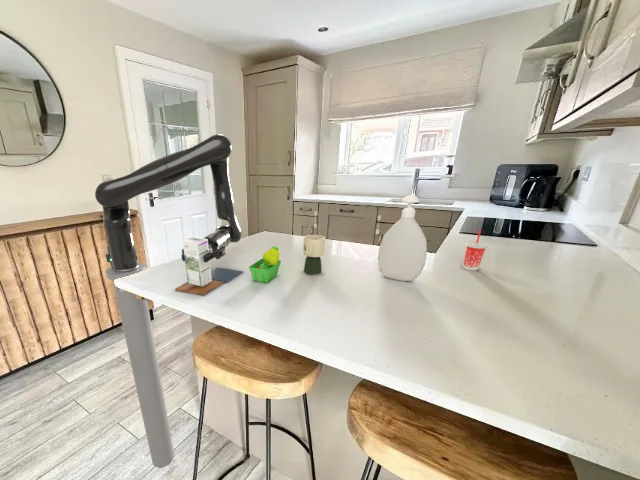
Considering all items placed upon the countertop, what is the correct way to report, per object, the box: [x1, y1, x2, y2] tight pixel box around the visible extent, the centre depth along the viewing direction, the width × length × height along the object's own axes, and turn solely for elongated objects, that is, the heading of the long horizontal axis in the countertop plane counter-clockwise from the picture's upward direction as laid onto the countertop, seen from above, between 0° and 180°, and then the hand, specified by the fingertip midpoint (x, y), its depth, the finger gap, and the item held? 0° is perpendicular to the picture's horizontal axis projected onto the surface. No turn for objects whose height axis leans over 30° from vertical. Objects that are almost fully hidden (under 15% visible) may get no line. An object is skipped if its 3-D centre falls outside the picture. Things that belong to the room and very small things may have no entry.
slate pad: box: [211, 267, 243, 284], centre depth 110 cm, size 11×11×1 cm
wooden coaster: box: [175, 280, 224, 296], centre depth 100 cm, size 11×11×1 cm
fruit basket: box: [248, 246, 282, 283], centre depth 105 cm, size 11×9×11 cm
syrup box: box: [182, 236, 212, 287], centre depth 97 cm, size 6×6×14 cm
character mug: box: [303, 234, 326, 275], centre depth 108 cm, size 11×7×13 cm, turn 159°
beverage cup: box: [462, 229, 488, 271], centre depth 108 cm, size 6×6×14 cm
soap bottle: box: [377, 194, 428, 282], centre depth 99 cm, size 14×8×27 cm, turn 53°
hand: (194, 258), depth 95 cm, fingers closed on syrup box, 6 cm apart
